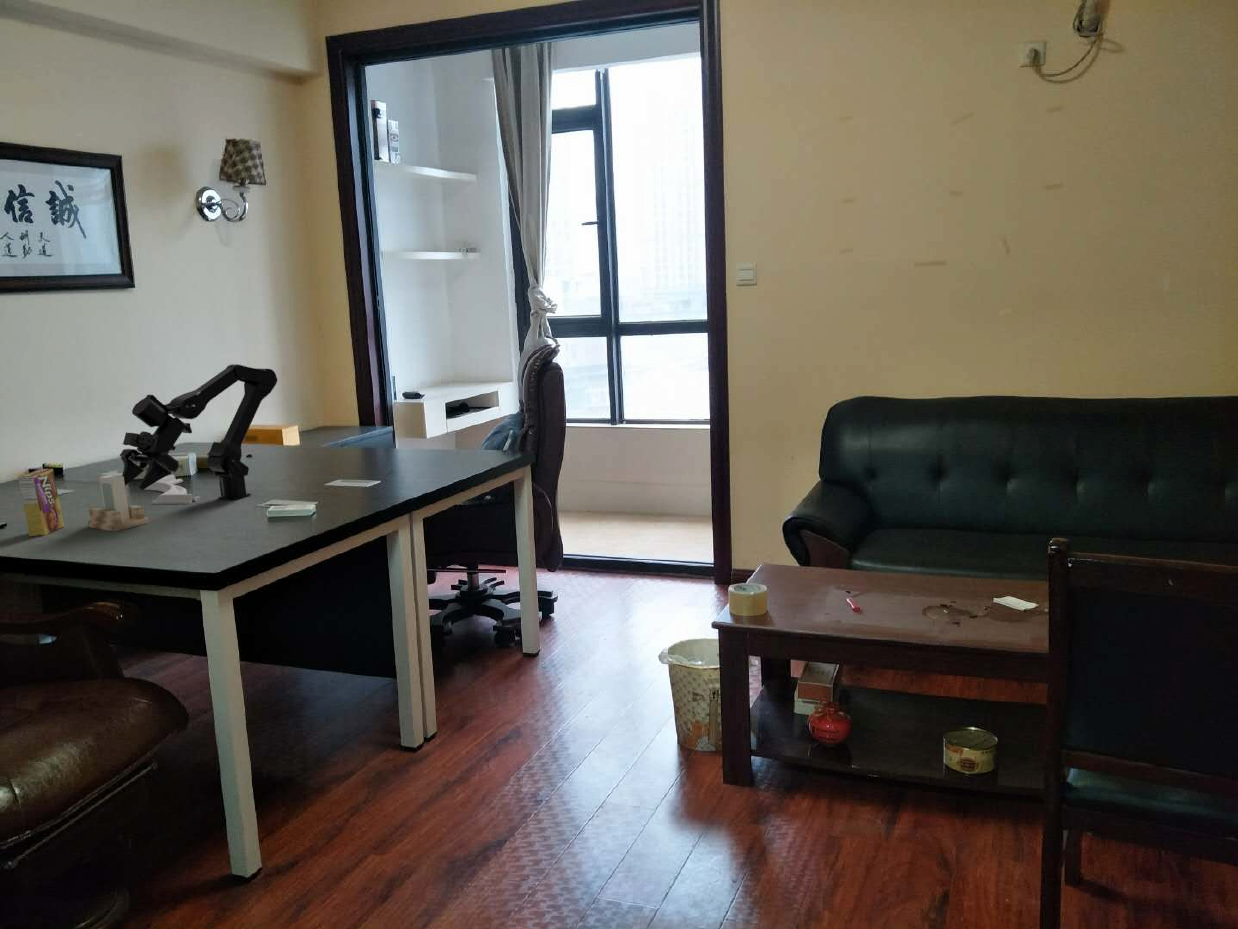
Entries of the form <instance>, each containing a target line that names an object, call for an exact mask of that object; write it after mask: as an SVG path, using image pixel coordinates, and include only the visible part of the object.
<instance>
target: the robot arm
mask: <svg viewBox="0 0 1238 929" xmlns="http://www.w3.org/2000/svg"><path fill="white" fill-rule="evenodd" d="M237 382H242V383H243V388H244V390H243V391H244V394H243V397H242V399H241V401H240V403H239V405H238V408H237V410H236V412H235V415H234V416H233V418H232V421H231V423H230V425H229V427H228V429H227V432H226V434H225V435H224V438H223V439H222V440H221V441H219V442H217V441H213V442H212V444H211V446H210V450H209V451H208V453H207V454H206V456H207V460H206V462H207V463H206V464H207V465H208V467H209V469H210V470H211V471H212V472H213V474H214V475H215V477H218V479H219V490H220V496H217V499H218V500H230V501H234V500H235V501H236V500H238V499H242V498H245V497H248V496H252V493H250V492H249V493H247V489H246V488H247V487H246V486H247V485H246V480H245V477H246V476H248V475H249V470H250V467H248V466H247V465H246V464H244V463H243V462H242V461H241V460H242V457H243V455H242V444H243V442H244V440H245V438H246V435H247V433H248V431H249V429H250V427H251V424H252V422H253V420H254V418H255V416H256V413H257V412H258V409H259V408H260V404H261V403H262V401H263V400H264V399H265V398H266V397H268V396H269V395H270V394H271V393H272V391H273V390H274V389H275V386H276V385H277V383H278V377H277V374H276V372H275V371H274V370H273V369H270V368H255V367H249V366H246V365H243V364H237V363H236V364H232V363H231V364H229V365H227V366H226V367H225V369H223V370H221V371H220V372H218V373H217V374H216V375H215V376H213V377H212V378H210V379H209V380H207V381H206V382H205V383H203V384H202V385H200V386H199V387H197V388H196V389H195V390H192V391H189V392H185V393H183V394H181V395H179V396H176V397H175V398H173V399H171V400H170V402H168V403H166V404H163V403H162V401H160V400H159V399H158V398H157V397H156V396H155V395H153V394H147V395H146V396H145V397H144V398H142V399H140V400H139V401H138V402H136V403H135V404H134V405H133V408H132V410H131V414H132V415H134V416H135V417H136V418H137V419H139V420H140V421H141V422H143V423H144V424H145V425H147V426H148V427H150V428H155V427H157V428H156V429H155V431H154V432H153V434H151V432H148V431H140V433H136V432H125V435H124V439H123V443H122V445H124V446H130V447H134V448H124V449H123V450H121V453H120V454H119V457H120V459H121V461H122V462H123V465H124V466H123V470H122V474H121V476H123V477H124V483H125V487H126V486H127V485H129V484H130V483H132V481H133V480H135V478H137V477H138V476H139V475H140V474H142V473H143V472H144V471H145V468H147V466H148V469H147V470H146V473H145V475H144V476H143V478H142V480H141V482H140V484H139V486H138V487H139V490H141V491H145V490H144V489H145V488H147V487H148V486H150V485H152V484H153V483H155V482H157V481H158V480H160V479H162V478H164V477H166V476H169V475H172V473H176V472H177V470H179V468H180V464H179V461H178V460H176V459H175V458H174V457H173V456H171V455H170V454H169V453H170V451H175V450H176V449H177V447H176V446H175V444H176V443H177V441H178V440H179V438H180V436H181V435H182V433H184V434H192V433H193V429H192V428H191V423H189V422H184V421H182V419H183V420H194V419H196V418H198V417H199V416H200V415H201V413H203V412H204V411H205V409H206V407H207V405H208V404H209V402H210V401H212V400H214V399H215V398H216V397H218V396H219V395H220V394H222V393H223V392H225V390H227V389H229V388H230V387H231V386H233V385H235V383H237ZM171 415H172V416H171ZM135 448H136V449H135Z"/></svg>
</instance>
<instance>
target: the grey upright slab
mask: <svg viewBox="0 0 1238 929" xmlns="http://www.w3.org/2000/svg"><path fill="white" fill-rule="evenodd" d="M98 478H99V484H100V491H101V497H102V504H103V509H106V510H112V511H118V512H120V515H121V521H124V520H128V519H130V516H129V510H128V504H129V503H128V496H127V490H126V486H125V483H124V477H123V476H122V475H115V474H109V475H104V476H103V475H102V476H99V477H98Z"/></svg>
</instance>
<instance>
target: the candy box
mask: <svg viewBox="0 0 1238 929" xmlns="http://www.w3.org/2000/svg"><path fill="white" fill-rule="evenodd" d="M17 477H18V483H19V488H20V493H21V499H22V504H23V508H24V513H25V514H24V515H25V519H26V524H27V530H28V536H29V537H38V536H37V535H44V536H47V535H49V534H51V533H54V532H55V531H58V530H59V529H61V528H63V527H65V525H64V519H63V514H62V513H63V512H62V509H61V502H60V498H59V493H58V488H57V483H56V478H55V474H54V469H53V468H46V469H45V468H44V469H37V470H34V471H32V472H28V473H26V474H23V475H20V476H17Z"/></svg>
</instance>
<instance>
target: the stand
mask: <svg viewBox="0 0 1238 929" xmlns="http://www.w3.org/2000/svg"><path fill="white" fill-rule="evenodd" d="M128 510H129V516H130V519H128V520H124V521H121V515H120V512H118V511H112V510H106V509H104V508H98V507H92V508H89V511H88V512H89V517H90V520H88V521H87V524H88V527H89V528H91V529H99V530H103V531H109V532H119V531H122V530H126V529H129V528H135V527H138V526H142V525H147V524H149V519H148V517H147V516H145V511H144V506H143V505H142V506H140V505H136V504H135V505H134V504H129V503H128Z"/></svg>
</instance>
